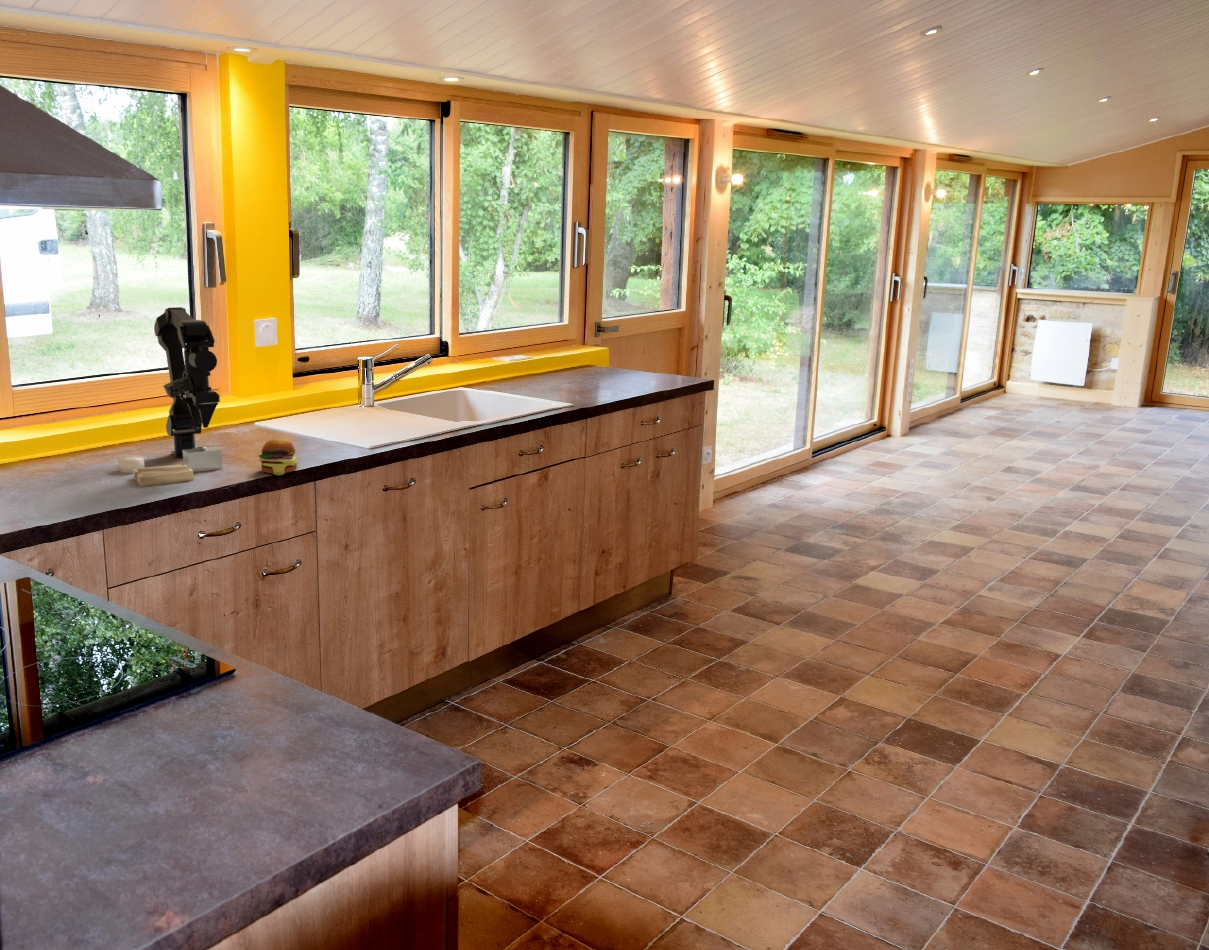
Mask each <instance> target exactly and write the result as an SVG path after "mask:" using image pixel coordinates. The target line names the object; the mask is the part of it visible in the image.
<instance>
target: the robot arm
mask: <svg viewBox="0 0 1209 950" xmlns="http://www.w3.org/2000/svg"><path fill="white" fill-rule="evenodd" d="M153 327H154V335H155V337H157V342H158V344H159V345H160V347H161V348H162V349H163V350H164V351H165V354H166V361H167V368H168V375H169V381H170V382H168V383H165V384H164V385H163V388H164V391H165V392H166V395H167V396H168V397H170V398H171V399H173V400H172V404H171V405H170V408H169V410H168V415H167V421H166V426H165V429H166V434H167V435H168V436H170V437H173V446H174V451H171V454H172V455H173V456H174V457H175V458H183V450H185V449H194V448H196V434H197V435H198V434H199V435H200V434H202V427H203V428H204V429H206V428H208V427H209V425H210V422H211V421H212V417H213V415H214V412H215V411H216V409H217V406H218V405H219V403H220V401H221V399H220V394H219V393H218V392H216V391H215V390H212V387H211V386H210V382H209V381H210V379H209V377H211V372H212V371H214V370H215V368H216V367H217V366H218V365H217V364H218V358H217V357H216V356H217V355H215V353H214V352H212V351H210V350H209V349H210V348H214V347H215V342H216V341H215V337H214V335H213V332H212V329H211V328H210V325H208V324H207V322H206V321H205V320H201V319H194V318H193V317H192V316H191V315H190V314H189V313H188V312H187V310H186V308H185V307H183V306H180V307H178V306H175V307H173V306H172V307H168V308H165V309H164V312H163V313H161V314H160V315H159V316H157V317H156V319H155V322H154V326H153ZM183 350H184V351H183Z"/></svg>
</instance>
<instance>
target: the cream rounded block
mask: <svg viewBox="0 0 1209 950" xmlns="http://www.w3.org/2000/svg"><path fill="white" fill-rule="evenodd" d="M117 461H118V472H120V473H121V474H122V473H123V474H134V473H133V469H139V468H146V467H145V457H144V456H143V455H125V456H124V455H123V456H121V457H119V458H117Z"/></svg>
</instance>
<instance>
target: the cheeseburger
mask: <svg viewBox="0 0 1209 950" xmlns="http://www.w3.org/2000/svg"><path fill="white" fill-rule="evenodd" d="M260 453H261V454H258V457H259V462H260V465H261V466H260V468H261V471H262V472H263V473H268V474H273V475H275V476H283V475H285V474H286V473H290V472H294V471H296V470H297V467H298V466H297V464H298V458H297V455H295V454H296V449H295V446H294V445H293V443H292V442H290V441H287V440H284V439H282V438H281V439H280V438H275V439H269V440H268V441H266V442H265V443H264V445H263V447H262V449H261V452H260Z"/></svg>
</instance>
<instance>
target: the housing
mask: <svg viewBox="0 0 1209 950" xmlns="http://www.w3.org/2000/svg"><path fill="white" fill-rule="evenodd" d="M222 453H223V451H222V449H221V448H220V447H219V446H216V445H215V446H213V445H212V446H198V447H195V448H194V449H185V450H183V457H182V460H183V463H182V464H185V465H187V466H188V467H189V468H190V469H192V470H193V473H195V472H205V471H211V470H212V471H213V470H222V469H224V467H223V454H222Z"/></svg>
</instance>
